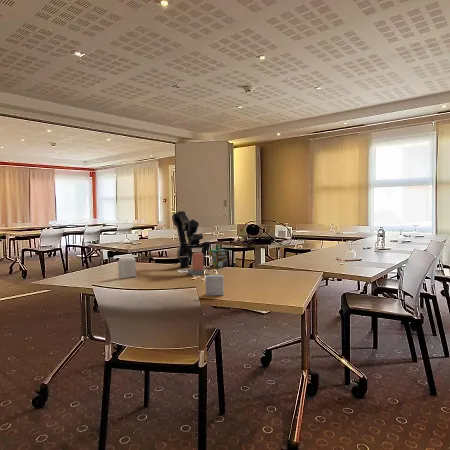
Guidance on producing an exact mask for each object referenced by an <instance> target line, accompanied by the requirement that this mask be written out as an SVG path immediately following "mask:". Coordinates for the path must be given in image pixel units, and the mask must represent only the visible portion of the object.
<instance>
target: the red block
mask: <svg viewBox="0 0 450 450" xmlns="http://www.w3.org/2000/svg"><path fill="white" fill-rule="evenodd" d="M191 260H192V261H191V262H192V269H193V270H195V271H196V270H204V268H205V267H204V255H203V252H192V254H191Z"/></svg>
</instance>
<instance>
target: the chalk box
mask: <svg viewBox="0 0 450 450" xmlns="http://www.w3.org/2000/svg"><path fill="white" fill-rule="evenodd" d="M218 247H219V248H218ZM208 252H209V254H208V256H209V255H210V256H212V258H213V265H214V266H215V267H217V268H216V269H218V268H219V269H220V268H228V263H229V262H228V249H224V248H222V244H216V246H215V249H209V250H208ZM215 267H214V268H215Z"/></svg>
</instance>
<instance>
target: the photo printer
mask: <svg viewBox="0 0 450 450" xmlns="http://www.w3.org/2000/svg"><path fill="white" fill-rule="evenodd" d="M136 261H137V260H136V258H135V257H134V256H124V257H120V258H118V267H117V268H118V269H117V270H118V279H120V280H121V279H129V278H135V277H137V274H136V273H137V269H136V267H137V265H136Z"/></svg>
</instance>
